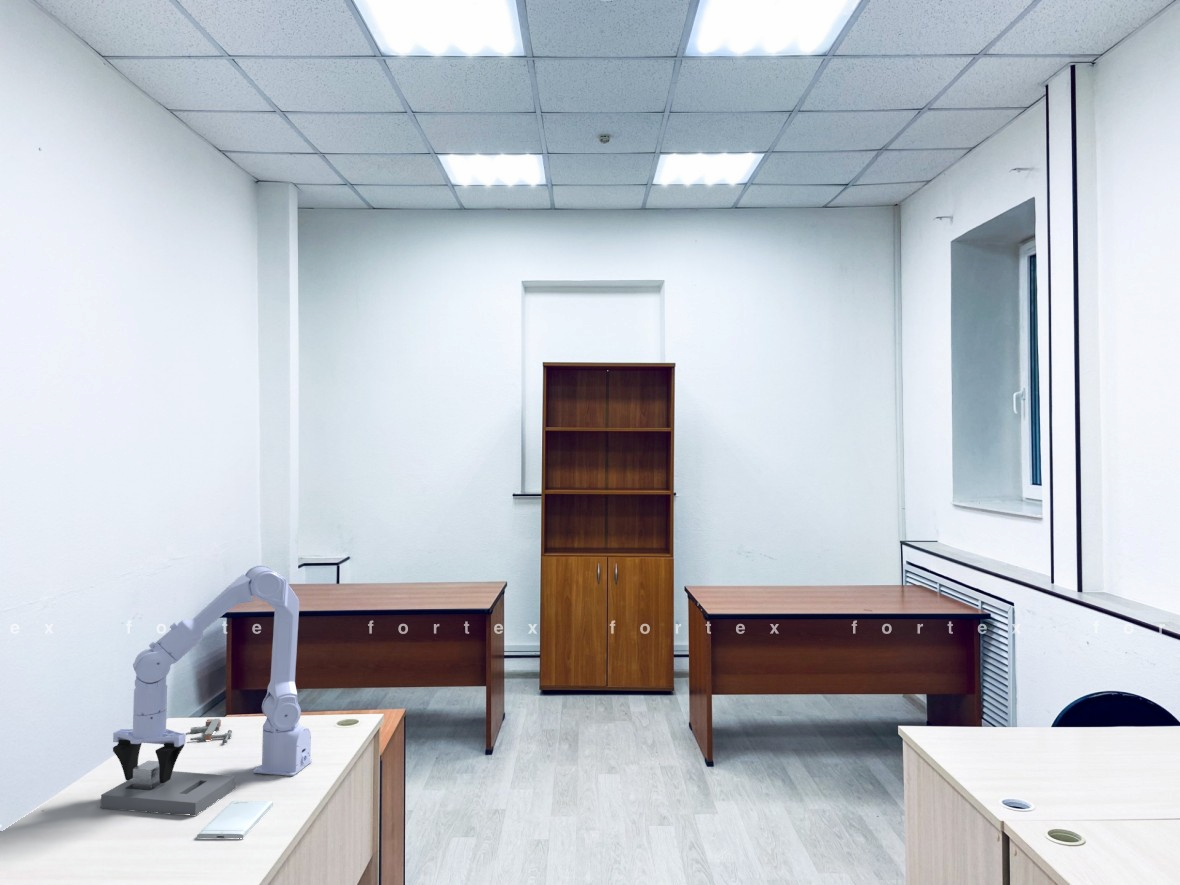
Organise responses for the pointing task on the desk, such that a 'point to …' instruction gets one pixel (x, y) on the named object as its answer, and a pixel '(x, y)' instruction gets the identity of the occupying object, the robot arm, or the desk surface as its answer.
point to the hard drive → (236, 819)
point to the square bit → (146, 776)
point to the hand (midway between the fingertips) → (148, 779)
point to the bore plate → (171, 794)
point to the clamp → (210, 731)
